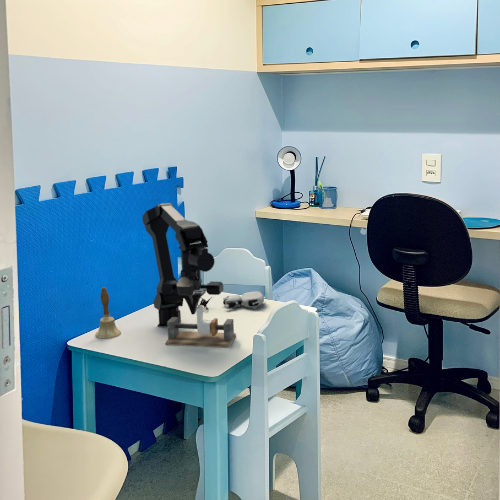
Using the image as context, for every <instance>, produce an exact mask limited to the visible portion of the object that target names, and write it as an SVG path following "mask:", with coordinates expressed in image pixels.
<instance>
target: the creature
mask: <svg viewBox="0 0 500 500" xmlns="http://www.w3.org/2000/svg"><path fill="white" fill-rule="evenodd" d="M212 298H213V296H211V297H210V298H209V299H208V300H206V299H204V298H203V297H201V300H199V303H198V306H199V305H202V307H203V308H204V309H205V311H206V312H205V311H204V312H205V314H207V313H208V312H209V311H210V310H209V308H208V306H207V304H208V303H209V302H210V300H212ZM198 306H197V307H198ZM196 311H197V309H196Z"/></svg>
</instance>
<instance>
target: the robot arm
mask: <svg viewBox="0 0 500 500" xmlns="http://www.w3.org/2000/svg"><path fill="white" fill-rule="evenodd" d="M141 220H142V224H143V225H144V228H145V231H146V232H147V233H148V234H149V235H150V237H151V239H152V245H153V250H154V254H155V255H154V256H155V261H156V266H157V271H158V275H159V276H158V278H159V281H158V284H157V287H156V294H155V297H154V298H153V307H154V308H155V309H157V311H158V324H157V327H160V328H168V327H167V322H168V321H169V320H170V319H171V318H172V317H178V323H182V316H181V314H182V313H181V310H180V308H179V307H183V305H184V304H183V303H184V300H185V302H186V304H187V306H188V308H189V311H190V314H191V315H195V314H196V313H197V310H196V309H197V307H198V305H199V304H200V303H199V302H200V301H201V300H200V299H202V297H203V296H204V294H206V293H207V294H208V295H210V296H211V295H212V296H214V295H215V296H216V295H217V296H220V295H221V293H223V291H224V283H223V282H222V281H214V280H213V281H211V280H210V282H209V283H207V284H202V283H203V280H202V274H201V272H203V273H205V272H209V271H211V270H212V269H213V268H214V266H215V258H214V256H213V254H212V253H210V252H209V249H208V248H209V244H208V240H207V237H206V235H205V233H204V231H203V228H202V227H201V226H200V224H198V223H197V222H194V221H191V220H187V219H186V218H185V217H183V215H182V214H181V213H180V212H179V211H177V209H175V207H174V205H173V204H172V203H171V202H165V203H158V204H156V205H155V206H154V207H152V208H150V209H148V210H145V212H144V214H143V215H142V219H141ZM169 227H170V228H171V229H172V230H173V231H174V232H175V235H174V237H175V239H176V241H177V243H178V250H180V258H181V260H180V261H181V270H180V276H179V279H177V278H176V277H175V275H174V269H173V265H172V264H173V263H172V260H171V253H170V248H169V244H168V243H169V242H168V237H167V234H168V233H167V232H168V230H169Z"/></svg>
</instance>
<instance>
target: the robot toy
mask: <svg viewBox="0 0 500 500" xmlns="http://www.w3.org/2000/svg"><path fill="white" fill-rule="evenodd" d="M222 299H223V302H222V303H223V308H228V309H236V308H238V307H239V308H240V307H241V306H242V305H243V307H246V308H250V309H256V308H258V307H259V306H261V305H263V304H264V302H265V299H264V294H263V293H262V292H261V290H258V291H256V290H255V291H248V292H244V293H243V294H241V295H240V294H234V295H227V296H225V297H223V298H222Z"/></svg>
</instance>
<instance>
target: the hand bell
mask: <svg viewBox="0 0 500 500" xmlns="http://www.w3.org/2000/svg"><path fill="white" fill-rule="evenodd" d="M108 292H109V291H108V290H107V288H106V286H105V287H104V286H103V287H101V292H100V300H101V301H100V302H101V304H102V308H103V317H101V318H100V320H99V327H98V330H97V332H95V335H94V336H95V338H96V339H100V340H107V339H108V340H111V339H115V338H117V337H119V336H121V335H122V331H121V330H120V329H118V327H117V326H116V322H115V319H114V317H113V316H110V312H109V311H110V310H109V303H110V295H109V293H108Z"/></svg>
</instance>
